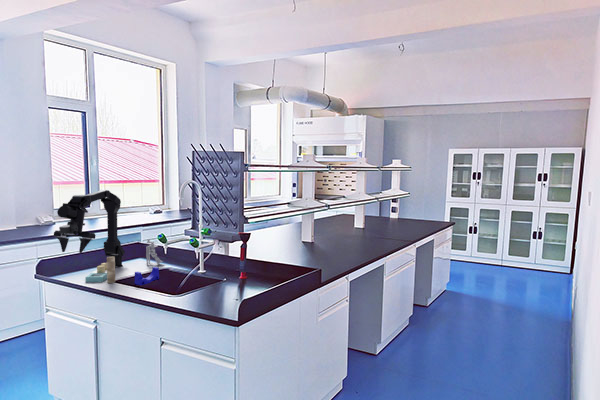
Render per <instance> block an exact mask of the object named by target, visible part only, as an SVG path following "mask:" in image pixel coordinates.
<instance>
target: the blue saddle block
mask: <svg viewBox="0 0 600 400" xmlns="http://www.w3.org/2000/svg"><path fill="white" fill-rule="evenodd" d="M156 280H160V268H159V267H158V266H157V267H156V266H152V270H151V272H150V274H149V275H148V276H147V277H143V275H142V272H140V271H135V272H134V285H137V286H144V285H147V284H150V283H152V282H153V281H156Z"/></svg>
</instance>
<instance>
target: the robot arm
mask: <svg viewBox="0 0 600 400" xmlns="http://www.w3.org/2000/svg"><path fill="white" fill-rule="evenodd" d="M99 200H100V203H102V204H103V208H104V210H105V211H106V213H107V219H106V220H107V221H106V222H107V223H106V224H107V238H106V240H105V241H104V242H103V251H104V253H105V256H106V257H115V268H119V267H124V265H123V258H122V257H124V255H125V252H126V251H125V250H124V248H123V247H122V244H121V240H120V239H119V238H118V212H119V210H120V208H121V204H122V203H121V202H122V201H121V199H120V197H119V196H117V195H116V194H114V193H112V192H111V191H110V190H108V189H100V190H98V191H94V192H91V193H87V194H75V195H74V194H73V195H72V197H71V199H70V200H69V201H68V202H66V203H65V202H64V203H62V205H61V206H60V207H59V208H58V209H57V215H58V217H59V218H63V219H67V220H69V221H67V224H65V225H62V226H61V225H60V226H59V230H55V231H54V232H53V237H55V238H56V239H57V240H58V241H59V244H60V248H61V253H65V251H66V249H67V247H68V243H69V240H70V238H69V237H75V238H79V241H80V242H79V243H80V245H79V251H78V253H79V254H82V253H83V251H84V250H85V248H86V247H87V246H88V245H89V243H91V241H93V240H95V239H96V233H95V232H90V231H83V227H84V226H85V225H86V223H84V220H85V215H86V214H87V213H88V214H89V211H88V210H87V209H86V207H87V208H88V206H90V205H92V203H93V202H95V201H99ZM85 213H86V214H85Z"/></svg>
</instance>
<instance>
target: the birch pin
mask: <svg viewBox="0 0 600 400" xmlns="http://www.w3.org/2000/svg"><path fill="white" fill-rule="evenodd" d="M106 263H107V279H106V280H107V283H108V284H115V283H116V267H115V257H109V256H106Z"/></svg>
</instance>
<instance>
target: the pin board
mask: <svg viewBox="0 0 600 400" xmlns="http://www.w3.org/2000/svg"><path fill="white" fill-rule="evenodd" d="M84 278H85V283H103V282H105V281H106V280H107V262H101V263H100V265H97V266H96V269H95V270H94V271H92V272H91V273H89V274H88V275H86V276H85V277H84Z"/></svg>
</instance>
